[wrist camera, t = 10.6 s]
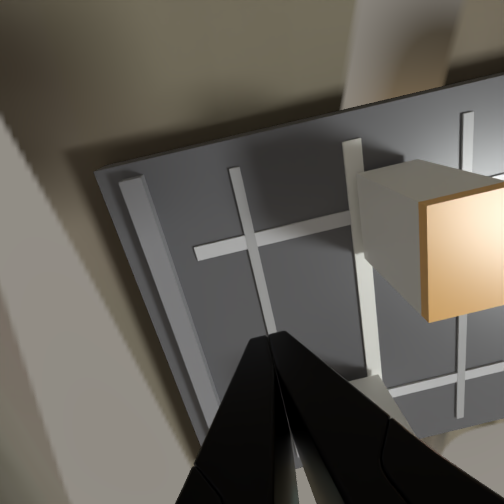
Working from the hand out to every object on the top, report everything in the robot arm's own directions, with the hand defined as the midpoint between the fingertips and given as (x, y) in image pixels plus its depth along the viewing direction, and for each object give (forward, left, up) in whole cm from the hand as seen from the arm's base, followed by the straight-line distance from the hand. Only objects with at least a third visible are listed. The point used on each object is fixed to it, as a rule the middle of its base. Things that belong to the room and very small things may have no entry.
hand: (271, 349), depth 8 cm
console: (-5, +5, -8) cm, 11 cm away
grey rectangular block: (-6, 0, -6) cm, 9 cm away
